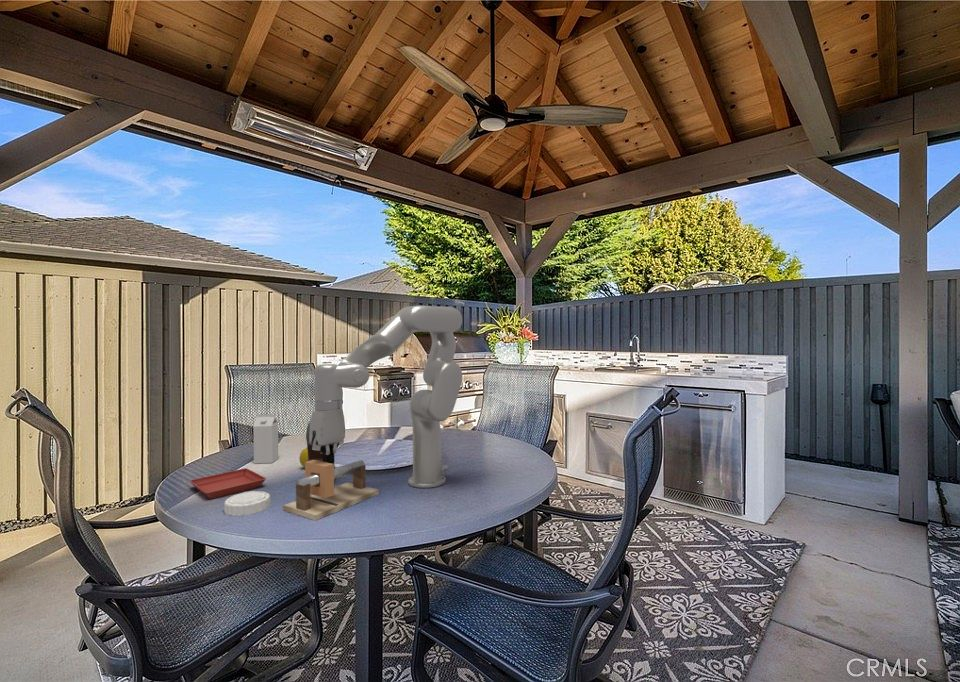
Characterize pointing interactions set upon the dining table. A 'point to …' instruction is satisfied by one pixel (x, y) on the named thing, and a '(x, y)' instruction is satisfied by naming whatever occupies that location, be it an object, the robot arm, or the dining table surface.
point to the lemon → (304, 457)
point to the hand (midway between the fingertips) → (328, 466)
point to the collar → (321, 477)
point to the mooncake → (247, 503)
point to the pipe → (338, 472)
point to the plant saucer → (228, 483)
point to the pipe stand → (331, 498)
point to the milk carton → (265, 438)
